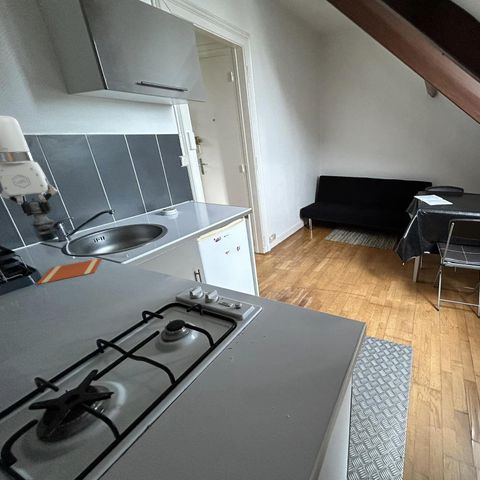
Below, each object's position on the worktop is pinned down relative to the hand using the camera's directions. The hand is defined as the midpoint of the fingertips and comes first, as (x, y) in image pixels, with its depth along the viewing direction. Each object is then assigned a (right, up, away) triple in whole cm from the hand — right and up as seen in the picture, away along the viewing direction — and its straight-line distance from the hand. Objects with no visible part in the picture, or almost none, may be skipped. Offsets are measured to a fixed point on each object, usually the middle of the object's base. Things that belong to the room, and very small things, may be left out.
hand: (39, 213), depth 89 cm
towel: (+7, -20, +5) cm, 22 cm away
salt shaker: (0, -6, +2) cm, 7 cm away
